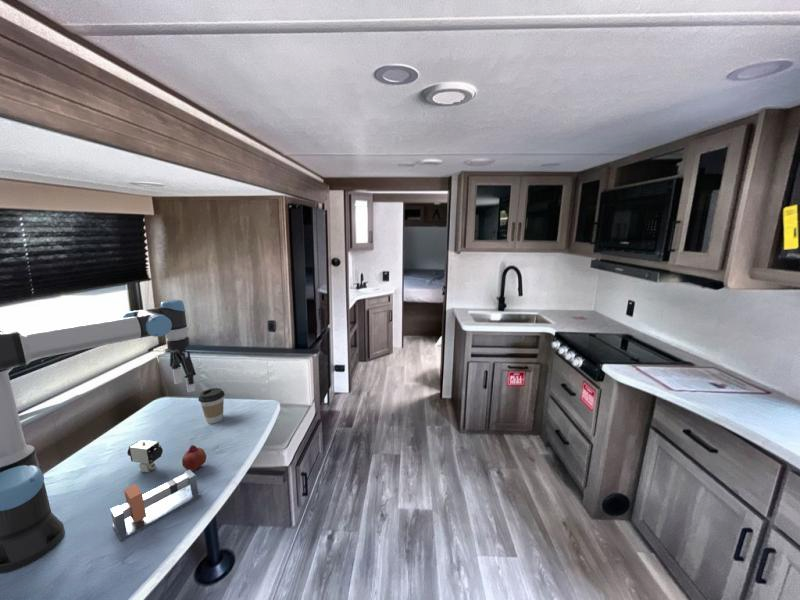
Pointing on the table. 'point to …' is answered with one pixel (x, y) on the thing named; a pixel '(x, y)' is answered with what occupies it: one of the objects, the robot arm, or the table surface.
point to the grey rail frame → (156, 505)
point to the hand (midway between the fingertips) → (184, 387)
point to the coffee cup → (212, 404)
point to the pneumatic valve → (145, 454)
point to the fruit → (193, 458)
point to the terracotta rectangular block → (135, 502)
